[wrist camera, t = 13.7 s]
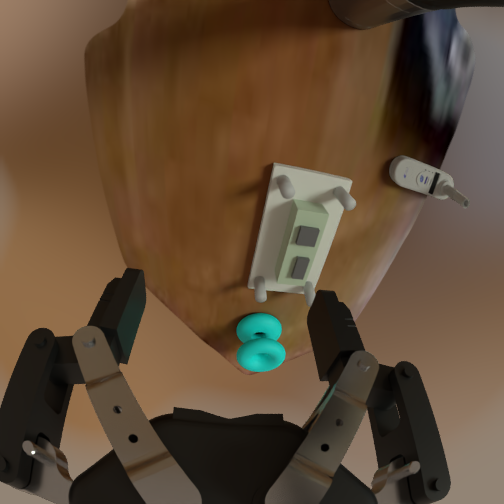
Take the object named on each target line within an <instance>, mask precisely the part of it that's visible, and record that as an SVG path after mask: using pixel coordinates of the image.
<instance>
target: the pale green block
mask: <svg viewBox="0 0 504 504" xmlns="http://www.w3.org/2000/svg"><path fill="white" fill-rule="evenodd" d="M328 217H329V214H328V212H327V211H326V209H325V207H324V206H323V204H319V203H313V202H308V201H303V200H297V199H293V202H292V206H291V210H290V214H289V218H288V221H287V225H286V229H285V233H284V236H283V240H282V244H281V247H280V251H279V255H278V258H277V262H276V265H275V269H274V270H275V276H276V282H277V284H287V285H296V286H305V283H306V280H307V278H308V275H309V272H310V269H311V267H312V264H313V261H314V258H315V255H316V253H317V250H318V247H319V244H320V241H321V238H322V235H323V232H324V229H325V226H326V223H327V220H328Z"/></svg>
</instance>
